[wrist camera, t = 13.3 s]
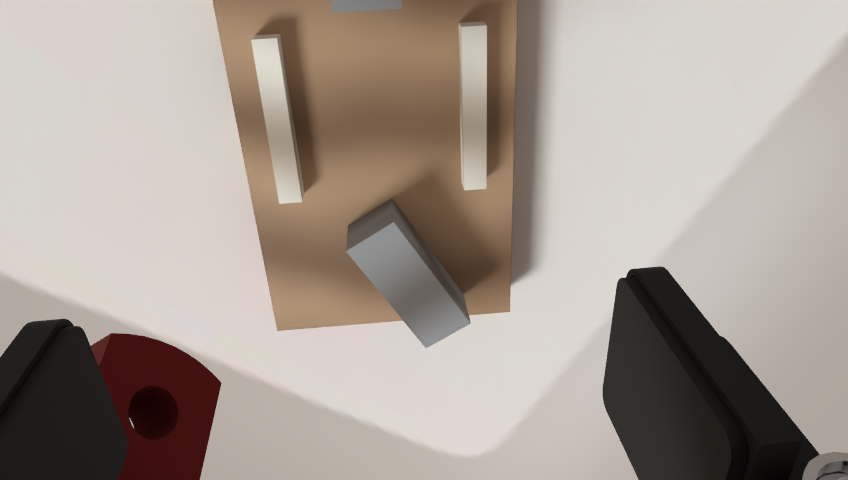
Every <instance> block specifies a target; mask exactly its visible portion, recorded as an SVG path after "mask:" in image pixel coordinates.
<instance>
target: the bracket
mask: <svg viewBox="0 0 848 480" xmlns="http://www.w3.org/2000/svg"><path fill="white" fill-rule="evenodd" d="M90 347H91V349H92V352H93V354H94V356H95V359H96V361H97V364H98V366H99V369H100V371H101V374H102V376H103V379H104V381H105V384H106V386H107V389H108V391H109V393H110V396H111V398H112V401H113V403H114V406H115V408H116V411H117V413H118V416H119V418H120V421H121V423H122V426H123V428H124V430H125V433H126V436H127V439H128V452H127V457H126V460H125V462H124V465H123V467H122V470H121V472H120V475H119V477H118V480H200V476H201V471H202V467H203V462H204V458H205V453H206V449H207V445H208V440H209V436H210V431H211V426H212V422H213V417H214V413H215V409H216V405H217V400H218V395H219V391H220V387H221V382H220V381H219V380H218V379H217V378H216V377H215V376H214V375H213V374H212V373H211V372H210V371H209V370H208V369H207V368H206V367H204V365H202V364H201V363H200V362H198V361H197V360H196V359H194V358H193V357H191V356H190V355H189V354H187V353H185V352H183V351H182V350H180V349H178V348H176V347H174V346H172V345H169V344H167V343H164V342H162V341H159V340H156V339H152V338H148V337H145V336H138V335H132V334H116V333H115V334H113V333H111V334H109V335H108V336H106V337H105V338H103V339H101V340H100V341H98V342H97V343H95V344H93V345H91V346H90ZM129 418H130V419H131V420H132V423H133V425H134V428H133V427H132V425H131V422H130V420H129Z"/></svg>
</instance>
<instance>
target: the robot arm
mask: <svg viewBox="0 0 848 480" xmlns="http://www.w3.org/2000/svg"><path fill="white" fill-rule="evenodd" d="M603 401H604V405H605V408H606V411H607V413H608V415H609V417H610V419H611V421H612V424H613V426H614V428H615V430H616V432H617V434H618V436H619V439H620V441H621V443H622V445H623V447H624V449H625V451H626V453H627V456H628V458H629V460H630V462H631V464H632V466H633V468H634V470H635V473H636V475H637V477H638V479H639V480H848V453H840V452H832V453H826V454H821V455H820V454H819V453H818V452H817V451H816V450H815V448H814V447H813V446H812V444H811V443H810V442H809V441H808V439H807V438H806V437H805V436H804V434H803V433H802V432H801V431H800V429H799V428H798V427H797V426H796V425H795V424H794V422H793V421H792V420H791V418H790V417H789V416H788V415H787V413H786V412H785V411H784V410H783V408H781V406H780V405H779V403H778V402H777V401H776V400H775V399H774V397H773V396H772V395H771V394H770V392H769V391H768V390H767V389H766V387H765V386H764V385H763V384H762V382H761V381H760V380H759V379H758V377H757V376H756V375H755V374H754V373H753V372H752V370H751V369H750V368H749V366H748V365H747V364H746V363H745V362H744V360H743V359H742V358H741V356H740V355H739V354H738V353H737V351H736V350H735V349H734V348H733V346H732V345H731V344H730V343H729V342H728V341H727V340H726V339H725V338H724V337H721V336H719V334H718V333H717V332H716V331H715V330H714V328H713V327H712V326H711V325H710V323H709V322H708V321H707V319H706V318H705V317H704V316H703V314H702V313H701V312H700V311H699V309H698V308H697V307H696V306H695V304H694V303H693V302H692V301H691V300H690V298H689V297H688V296H687V295H686V293H685V292H684V291H683V289H682V288H681V287H680V286H679V284H678V283H677V282H676V281H675V279H674V278H673V277H672V275H671V274H670V273H669V272H668V270H666V269H665V268H664V267H651V268H639V269H631V270H629V272H628V274H627V277H626V278H621V279H619V281H618V283H617V289H616V296H615V303H614V311H613V318H612V325H611V333H610V340H609V347H608V354H607V362H606V369H605V376H604V383H603ZM127 452H128V439H127V436H126V433H125V430H124V428H123V426H122V423H121V421H120V418H119V416H118V413H117V411H116V408H115V406H114V403H113V401H112V398H111V396H110V393H109V391H108V389H107V386H106V384H105V381H104V379H103V376H102V374H101V371H100V369H99V366H98V364H97V361H96V359H95V356H94V354H93V352H92V349H91V347H90V344H89V342H88V339H87V337H86V334H85V332H84V331H83V329H82V328H81V327H78V326H75V327H74V326H73V324H72V323H71V322H70V321H69V320H67V319H57V320H47V321H34V322H30V323H27V324H26V325H25V326H24V327H23V328H22V330H21V331H20V332H19V333H18V335H17V336H16V337H15V339H14V340H13V341H12V343H11V344H10V345H9V347H8V348H7V349H6V351H5V352H4V353H3V355H2V356H1V357H0V480H118V477H119V475H120V472H121V470H122V467H123V465H124V462H125V460H126V457H127Z"/></svg>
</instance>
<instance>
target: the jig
mask: <svg viewBox="0 0 848 480" xmlns="http://www.w3.org/2000/svg"><path fill="white" fill-rule="evenodd" d="M213 5H214V10H215V15H216V20H217V25H218V30H219V35H220V40H221V45H222V51H223V56H224V61H225V66H226V71H227V76H228V81H229V86H230V91H231V96H232V102H233V107H234V112H235V117H236V122H237V127H238V132H239V137H240V142H241V148H242V153H243V158H244V163H245V168H246V173H247V178H248V183H249V188H250V193H251V199H252V204H253V209H254V214H255V219H256V224H257V229H258V234H259V239H260V245H261V250H262V255H263V260H264V265H265V270H266V275H267V280H268V285H269V290H270V296H271V301H272V306H273V311H274V316H275V321H276V326H277V331H281V330H293V329H305V328H317V327H330V326H342V325H354V324H366V323H379V322H391V321H404V322H405V323H406V325H407V326H408V327H409V328H410V329H411V331H412V332H413V333H414V334H415V335H416V337H417V338H418V339H419V340H420V341H421V343H422V344H423V345H424V346H425V347H426V348H427V347H429V346H431V345H433V344H435V343H436V342H438V341H440V340H442V339H444V338H445V337H447V336H449V335H451V334H452V333H454V332H456V331H458V330H460V329H461V328H463V327H465V326H467V325H469V324H470V319H469V315H477V314H489V313H501V312H510V284H511V242H512V200H513V159H514V117H515V76H516V34H517V0H213Z"/></svg>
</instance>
